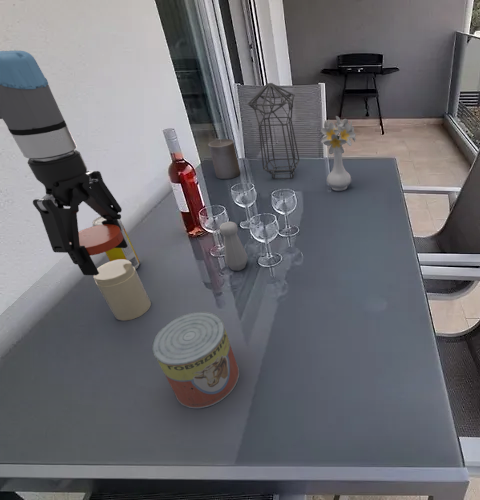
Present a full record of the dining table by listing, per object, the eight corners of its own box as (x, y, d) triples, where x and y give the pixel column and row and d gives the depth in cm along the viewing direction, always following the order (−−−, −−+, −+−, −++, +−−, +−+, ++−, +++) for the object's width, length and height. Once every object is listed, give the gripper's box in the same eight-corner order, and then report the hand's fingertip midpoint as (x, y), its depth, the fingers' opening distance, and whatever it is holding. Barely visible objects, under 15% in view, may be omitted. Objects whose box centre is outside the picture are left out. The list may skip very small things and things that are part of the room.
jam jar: (106, 317, 78) (82, 277, 72) (131, 295, 85) (112, 256, 78) (134, 323, 77) (113, 282, 70) (158, 300, 83) (140, 261, 76)
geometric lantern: (299, 182, 138) (288, 86, 118) (260, 183, 138) (242, 87, 118) (304, 167, 151) (294, 78, 131) (268, 168, 151) (253, 79, 131)
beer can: (125, 260, 97) (102, 212, 88) (145, 262, 96) (124, 214, 87) (110, 274, 92) (84, 225, 83) (131, 275, 91) (107, 226, 82)
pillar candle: (233, 168, 152) (225, 134, 143) (244, 174, 146) (237, 139, 137) (212, 175, 147) (202, 139, 138) (222, 181, 141) (213, 144, 132)
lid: (133, 235, 73) (130, 227, 72) (96, 259, 66) (91, 251, 65) (100, 229, 75) (96, 221, 74) (61, 251, 68) (56, 243, 67)
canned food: (195, 421, 58) (172, 377, 51) (163, 383, 64) (139, 339, 57) (251, 376, 65) (238, 332, 58) (218, 345, 71) (202, 302, 64)
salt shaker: (222, 270, 92) (210, 228, 85) (235, 258, 96) (224, 217, 89) (241, 274, 90) (230, 231, 83) (253, 262, 95) (244, 220, 87)
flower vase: (325, 200, 124) (320, 129, 110) (321, 180, 139) (316, 115, 125) (361, 197, 126) (361, 126, 111) (354, 177, 141) (352, 112, 126)
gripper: (76, 135, 69) (121, 232, 82) (-28, 179, 51) (50, 293, 64) (112, 135, 69) (151, 232, 81) (19, 179, 51) (88, 295, 64)
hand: (107, 259), depth 73 cm, fingers closed on lid, 9 cm apart
